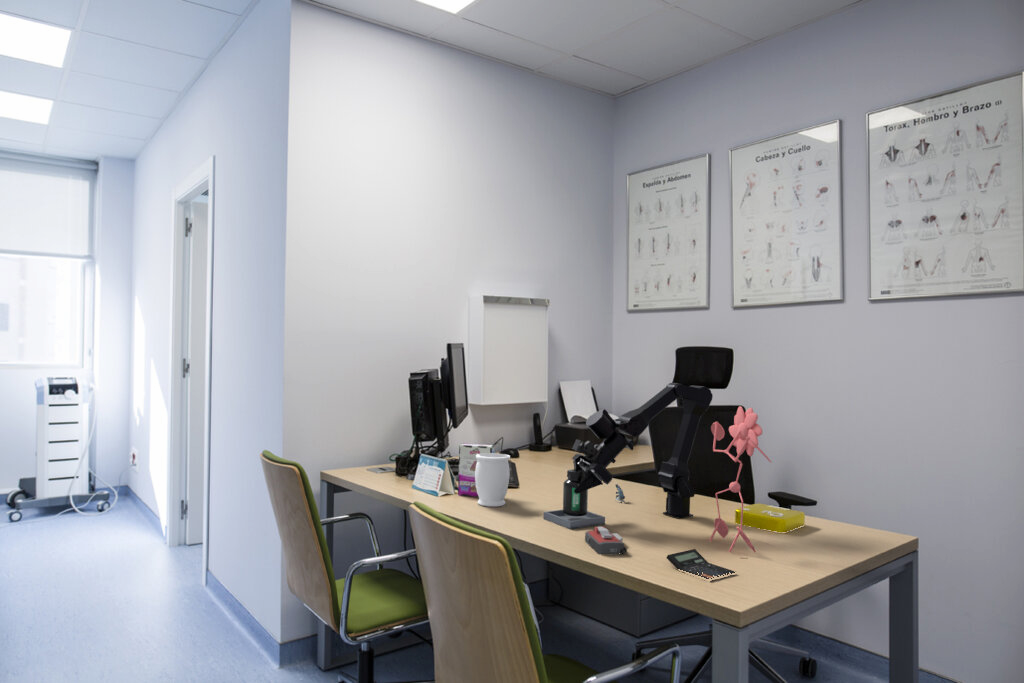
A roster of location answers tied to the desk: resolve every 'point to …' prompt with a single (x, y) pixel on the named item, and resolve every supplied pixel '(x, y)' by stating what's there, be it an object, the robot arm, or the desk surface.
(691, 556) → the calculator
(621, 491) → the sculpture
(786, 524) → the element tile
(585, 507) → the supplement bottle
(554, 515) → the tray
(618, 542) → the walkie-talkie
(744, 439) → the figurine
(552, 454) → the desk surface
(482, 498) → the jar
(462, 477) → the candy bar box
